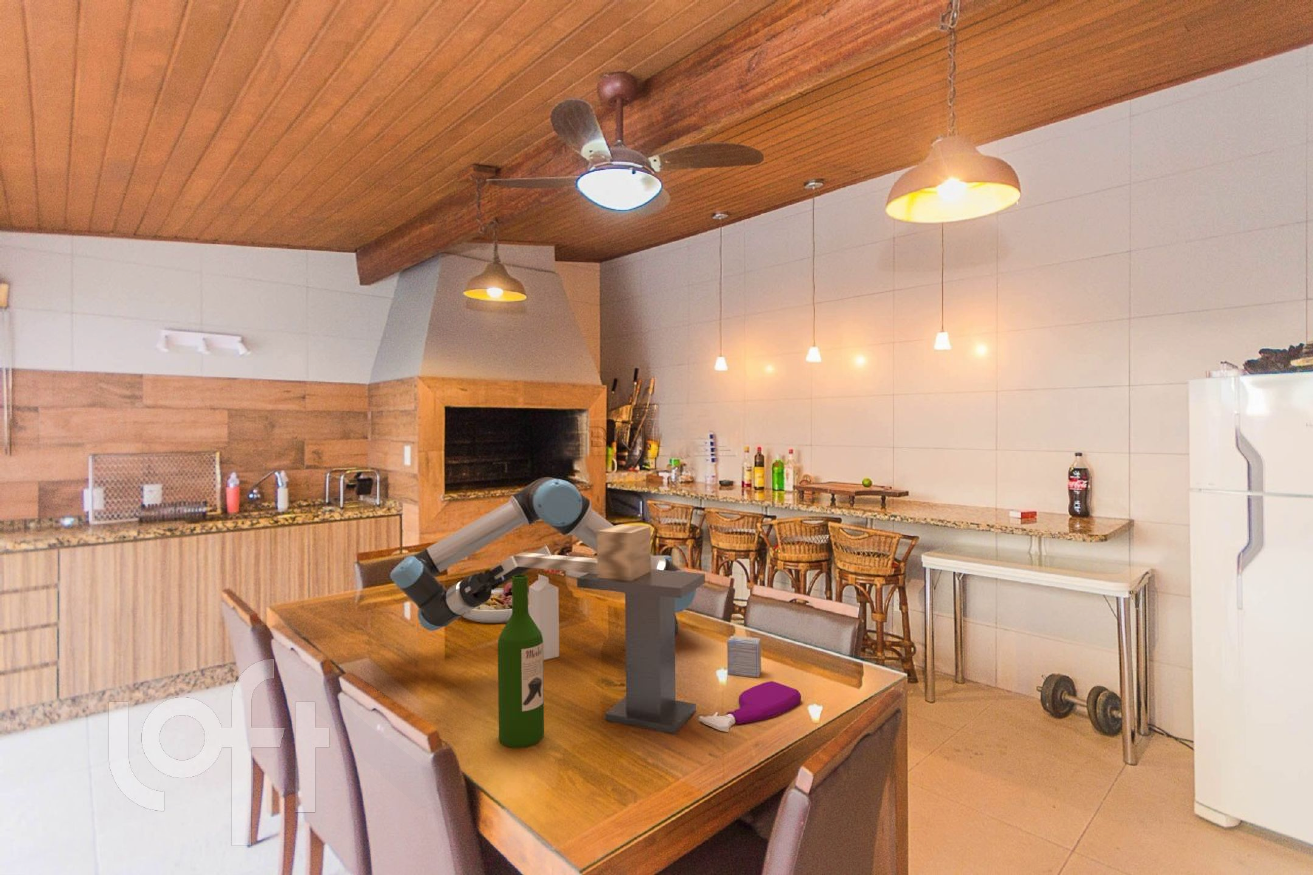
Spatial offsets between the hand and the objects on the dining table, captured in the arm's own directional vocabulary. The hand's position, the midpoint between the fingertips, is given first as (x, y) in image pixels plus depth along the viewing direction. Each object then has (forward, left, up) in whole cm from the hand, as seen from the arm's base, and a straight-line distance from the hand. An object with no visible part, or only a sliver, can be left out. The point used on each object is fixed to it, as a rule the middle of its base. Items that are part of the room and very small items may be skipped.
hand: (532, 555), depth 152 cm
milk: (-15, -20, -33) cm, 41 cm away
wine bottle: (+13, +18, -33) cm, 39 cm away
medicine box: (-46, +25, -33) cm, 62 cm away
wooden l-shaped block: (-5, +11, -2) cm, 12 cm away
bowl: (-27, -68, -33) cm, 80 cm away
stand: (-12, +26, -32) cm, 43 cm away
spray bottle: (-31, +40, -33) cm, 60 cm away
